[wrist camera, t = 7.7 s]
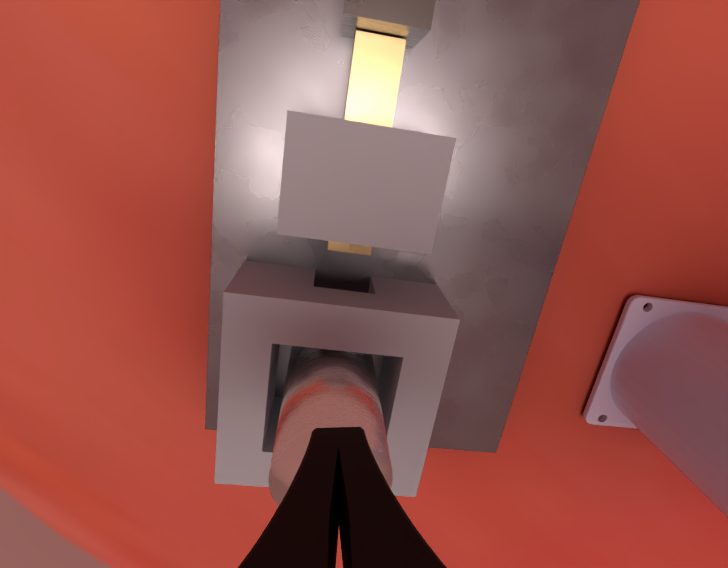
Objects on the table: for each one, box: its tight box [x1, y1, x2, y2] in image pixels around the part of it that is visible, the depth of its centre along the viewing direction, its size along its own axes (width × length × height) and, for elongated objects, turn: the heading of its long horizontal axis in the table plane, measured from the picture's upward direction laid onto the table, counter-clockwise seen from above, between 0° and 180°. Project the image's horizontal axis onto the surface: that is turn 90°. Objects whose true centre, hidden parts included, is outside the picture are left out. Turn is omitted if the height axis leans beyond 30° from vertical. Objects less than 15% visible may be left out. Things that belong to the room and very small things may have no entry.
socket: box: [215, 260, 460, 497], centre depth 19 cm, size 9×9×4 cm
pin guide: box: [277, 110, 456, 255], centre depth 16 cm, size 6×4×4 cm
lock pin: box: [328, 0, 436, 256], centre depth 16 cm, size 3×11×4 cm, turn 171°
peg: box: [268, 346, 393, 506], centre depth 17 cm, size 4×4×8 cm
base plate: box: [205, 0, 640, 453], centre depth 19 cm, size 16×26×1 cm, turn 171°
